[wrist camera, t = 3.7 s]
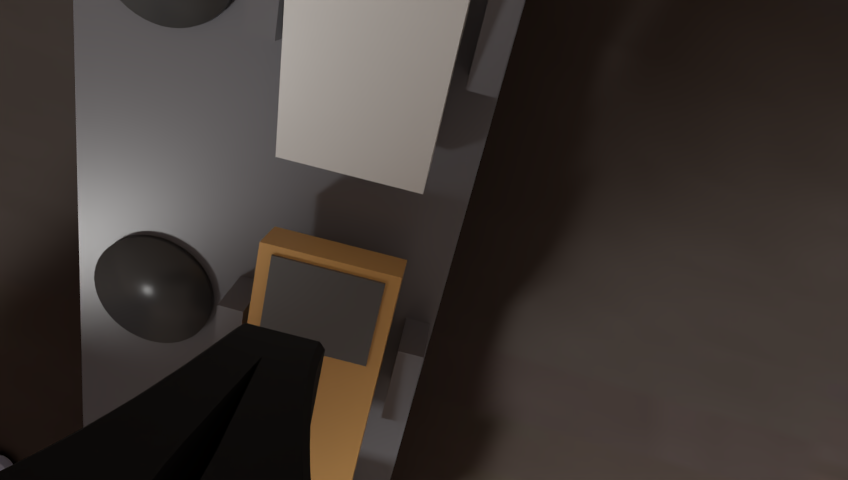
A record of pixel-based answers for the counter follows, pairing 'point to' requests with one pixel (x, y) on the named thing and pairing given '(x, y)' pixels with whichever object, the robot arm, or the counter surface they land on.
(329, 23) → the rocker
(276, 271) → the rocker middle
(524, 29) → the counter surface
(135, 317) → the power strip
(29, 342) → the counter surface
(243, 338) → the robot arm
